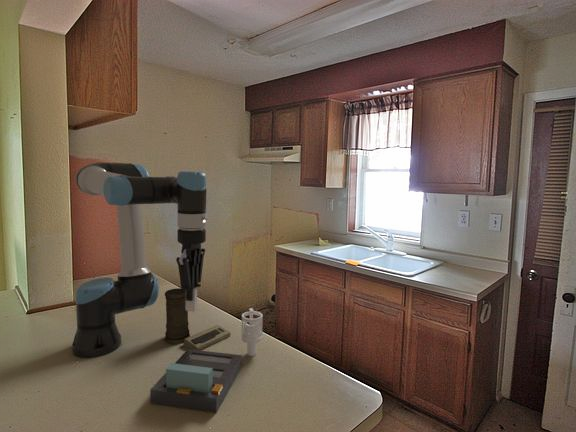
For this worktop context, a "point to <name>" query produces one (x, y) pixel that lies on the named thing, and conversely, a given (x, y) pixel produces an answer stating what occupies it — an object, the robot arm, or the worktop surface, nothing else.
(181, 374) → the panel
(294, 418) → the worktop surface
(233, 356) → the rack
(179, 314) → the container
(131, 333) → the worktop surface
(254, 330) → the white ringed cylinder
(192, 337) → the computer
